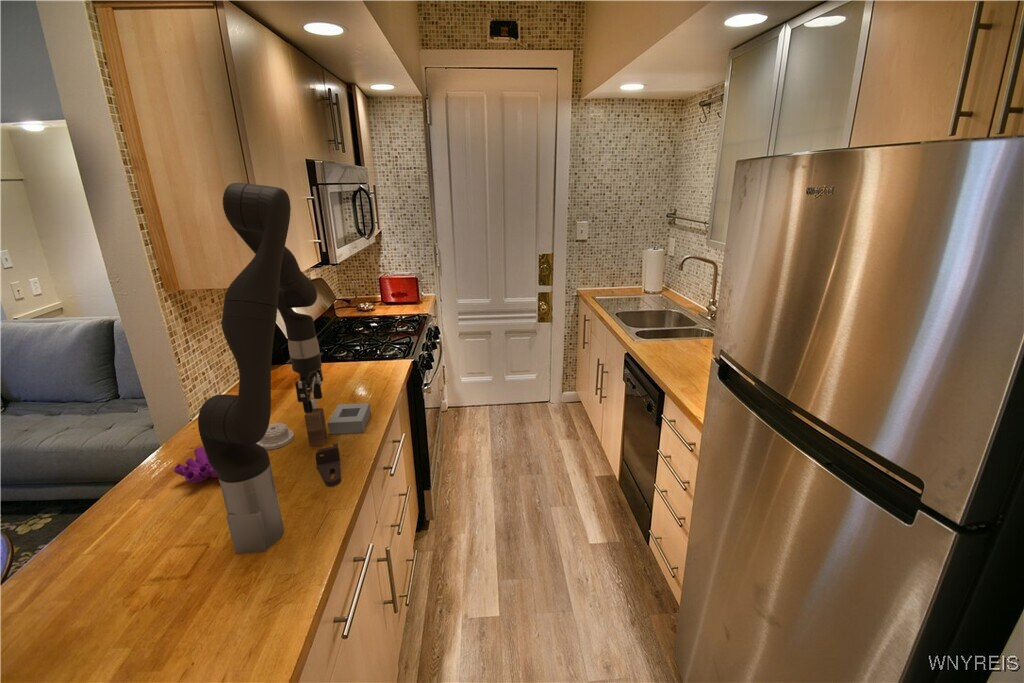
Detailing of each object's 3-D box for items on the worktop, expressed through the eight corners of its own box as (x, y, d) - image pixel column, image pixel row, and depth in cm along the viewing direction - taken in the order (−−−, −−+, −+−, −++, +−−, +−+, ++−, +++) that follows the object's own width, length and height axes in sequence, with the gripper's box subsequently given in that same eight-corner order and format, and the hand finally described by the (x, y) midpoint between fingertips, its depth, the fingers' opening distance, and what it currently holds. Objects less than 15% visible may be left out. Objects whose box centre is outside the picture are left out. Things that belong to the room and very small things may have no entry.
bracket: (316, 490, 111) (313, 473, 110) (317, 463, 122) (314, 447, 121) (341, 485, 113) (338, 468, 112) (340, 458, 124) (337, 443, 123)
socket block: (363, 432, 137) (361, 421, 136) (329, 434, 136) (327, 422, 135) (370, 413, 148) (369, 403, 147) (339, 415, 147) (338, 404, 146)
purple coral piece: (236, 469, 125) (251, 446, 122) (199, 505, 111) (216, 480, 108) (199, 448, 123) (213, 423, 120) (156, 482, 109) (172, 455, 106)
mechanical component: (248, 448, 129) (278, 452, 127) (245, 435, 128) (276, 439, 126) (272, 431, 138) (301, 434, 136) (270, 418, 137) (299, 421, 135)
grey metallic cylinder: (318, 425, 141) (314, 402, 139) (306, 425, 141) (302, 402, 138) (321, 419, 145) (317, 397, 142) (309, 420, 144) (306, 397, 142)
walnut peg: (323, 445, 130) (318, 414, 127) (309, 446, 130) (304, 415, 127) (327, 437, 134) (323, 408, 131) (313, 438, 134) (308, 408, 130)
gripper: (310, 361, 116) (319, 416, 122) (326, 343, 130) (334, 393, 135) (280, 363, 116) (291, 418, 121) (299, 344, 129) (308, 394, 135)
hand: (313, 405), depth 128 cm, fingers open, 8 cm apart
